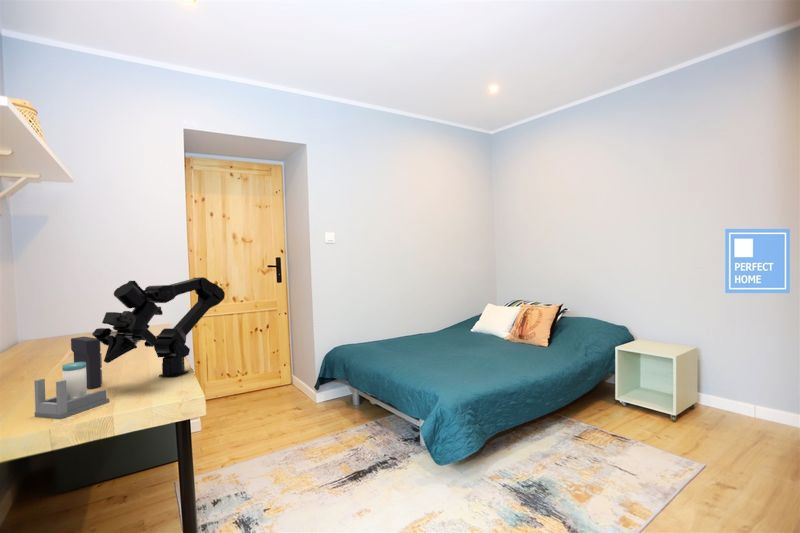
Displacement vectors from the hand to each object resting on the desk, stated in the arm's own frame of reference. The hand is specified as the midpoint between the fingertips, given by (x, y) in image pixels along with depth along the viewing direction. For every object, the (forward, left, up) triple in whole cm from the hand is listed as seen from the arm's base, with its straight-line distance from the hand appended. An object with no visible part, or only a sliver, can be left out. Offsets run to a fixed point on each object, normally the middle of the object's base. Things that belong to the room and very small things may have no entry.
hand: (106, 362), depth 111 cm
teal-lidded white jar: (+8, -1, -9) cm, 12 cm away
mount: (+8, -1, -10) cm, 13 cm away
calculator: (-9, -17, -10) cm, 22 cm away
